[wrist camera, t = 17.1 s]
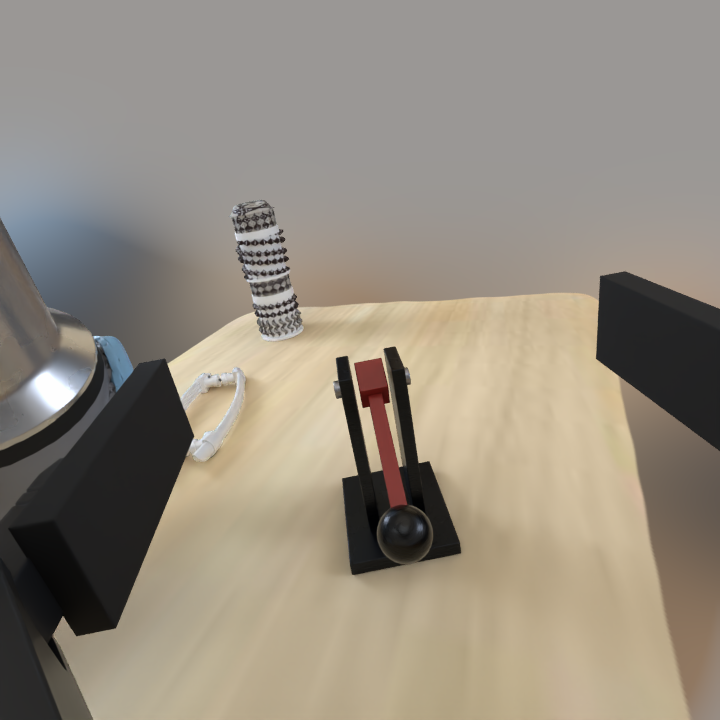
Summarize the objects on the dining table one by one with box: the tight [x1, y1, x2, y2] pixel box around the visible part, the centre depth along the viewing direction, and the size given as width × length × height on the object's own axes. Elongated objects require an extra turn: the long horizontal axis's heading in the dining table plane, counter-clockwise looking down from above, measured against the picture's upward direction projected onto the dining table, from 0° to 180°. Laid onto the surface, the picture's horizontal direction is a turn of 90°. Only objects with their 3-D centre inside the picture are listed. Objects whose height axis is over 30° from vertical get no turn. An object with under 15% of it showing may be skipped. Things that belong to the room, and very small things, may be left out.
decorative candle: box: [229, 200, 304, 341], centre depth 89 cm, size 9×9×25 cm
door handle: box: [180, 367, 246, 462], centre depth 66 cm, size 3×10×25 cm
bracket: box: [333, 347, 461, 575], centre depth 40 cm, size 11×9×16 cm
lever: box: [354, 358, 433, 564], centre depth 34 cm, size 15×4×4 cm, turn 6°
